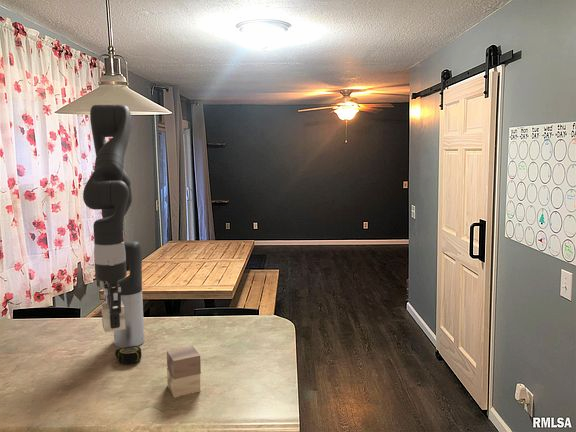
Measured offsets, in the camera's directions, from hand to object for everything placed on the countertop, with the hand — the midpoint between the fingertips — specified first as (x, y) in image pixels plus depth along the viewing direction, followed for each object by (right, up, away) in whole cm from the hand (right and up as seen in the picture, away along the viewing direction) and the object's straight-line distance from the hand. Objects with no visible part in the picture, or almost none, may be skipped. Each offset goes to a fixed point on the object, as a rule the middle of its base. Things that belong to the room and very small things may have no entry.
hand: (113, 323), depth 128 cm
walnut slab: (+17, -13, +3) cm, 22 cm away
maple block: (0, -1, 0) cm, 1 cm away
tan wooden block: (+17, -18, +4) cm, 25 cm away
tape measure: (-3, -16, +20) cm, 26 cm away
